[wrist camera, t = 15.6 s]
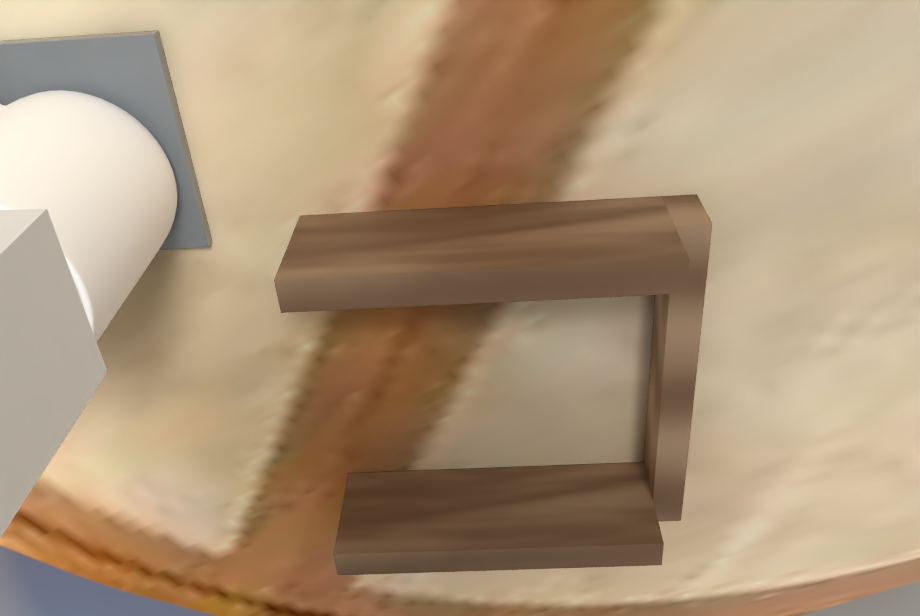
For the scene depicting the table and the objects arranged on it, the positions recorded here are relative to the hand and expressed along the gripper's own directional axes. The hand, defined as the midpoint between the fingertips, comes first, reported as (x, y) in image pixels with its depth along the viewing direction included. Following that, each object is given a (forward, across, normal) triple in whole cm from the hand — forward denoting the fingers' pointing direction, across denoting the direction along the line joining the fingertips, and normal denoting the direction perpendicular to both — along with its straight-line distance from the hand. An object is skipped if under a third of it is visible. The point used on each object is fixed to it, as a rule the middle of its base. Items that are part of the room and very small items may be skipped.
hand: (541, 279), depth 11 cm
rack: (+26, -1, -21) cm, 33 cm away
